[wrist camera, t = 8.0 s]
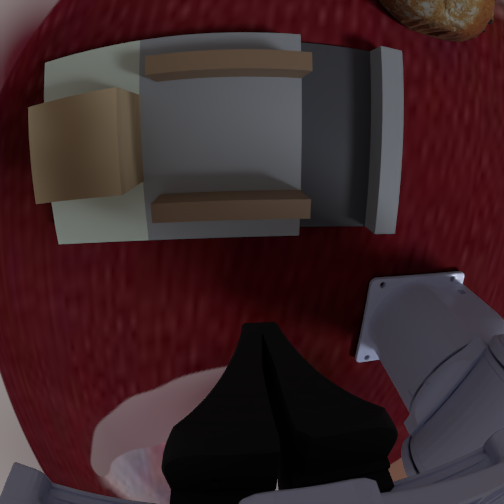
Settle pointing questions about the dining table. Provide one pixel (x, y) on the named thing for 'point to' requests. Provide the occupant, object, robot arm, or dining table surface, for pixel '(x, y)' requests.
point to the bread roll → (443, 17)
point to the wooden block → (86, 145)
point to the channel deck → (244, 137)
